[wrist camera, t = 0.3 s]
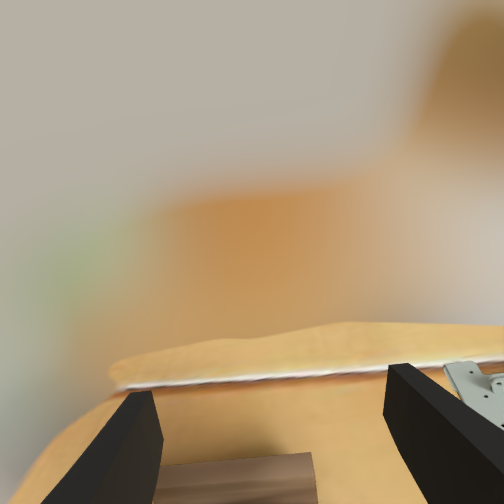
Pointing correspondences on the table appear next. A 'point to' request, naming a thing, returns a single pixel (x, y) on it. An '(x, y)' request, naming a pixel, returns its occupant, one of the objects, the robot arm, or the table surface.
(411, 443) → the robot arm
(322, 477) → the table surface
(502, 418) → the metal bracket
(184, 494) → the gray base with frame
